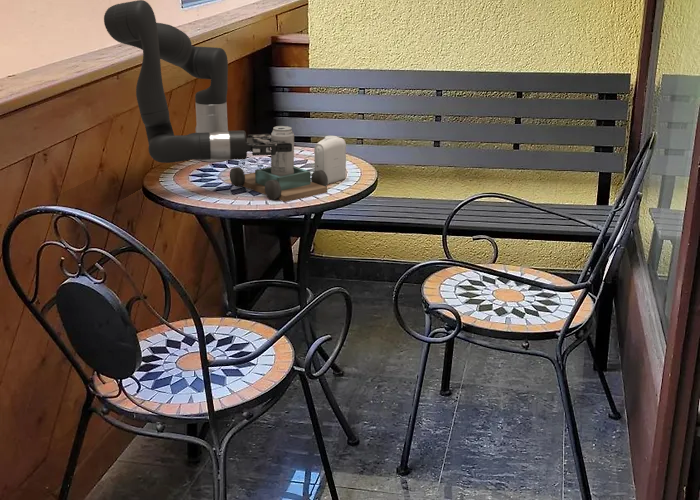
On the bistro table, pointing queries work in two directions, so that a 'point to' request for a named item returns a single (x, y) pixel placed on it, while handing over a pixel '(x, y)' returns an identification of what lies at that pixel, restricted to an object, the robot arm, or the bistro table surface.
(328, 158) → the photo printer
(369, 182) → the bistro table surface
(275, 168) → the energy drink can
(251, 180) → the chassis
